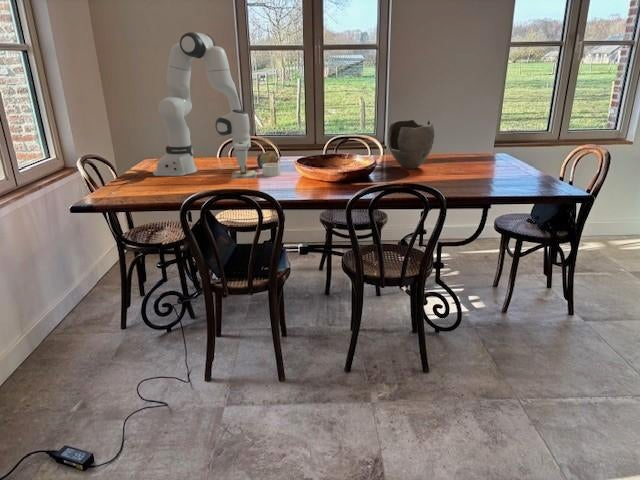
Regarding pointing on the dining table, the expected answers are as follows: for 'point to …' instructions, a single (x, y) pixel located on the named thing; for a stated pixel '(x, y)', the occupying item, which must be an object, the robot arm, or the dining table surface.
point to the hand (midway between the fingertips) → (243, 170)
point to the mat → (245, 178)
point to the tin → (267, 158)
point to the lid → (243, 173)
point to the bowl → (271, 169)
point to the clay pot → (410, 142)
